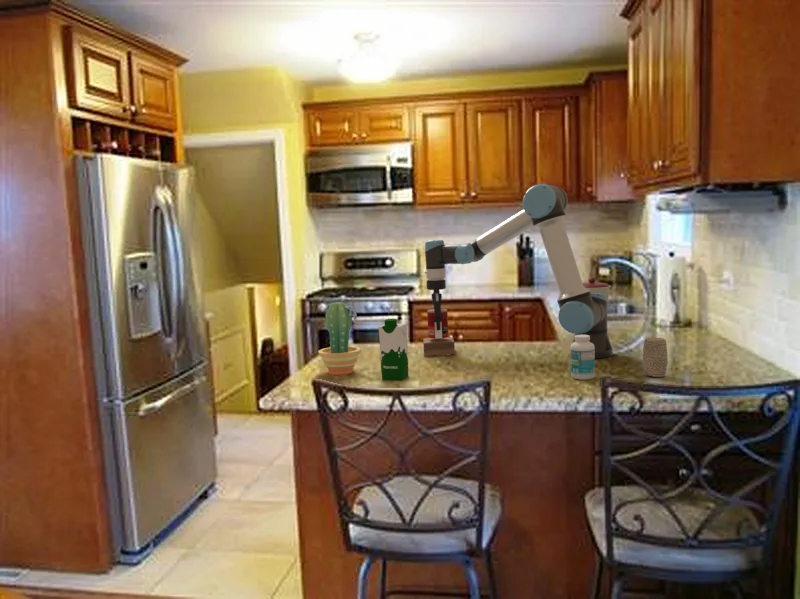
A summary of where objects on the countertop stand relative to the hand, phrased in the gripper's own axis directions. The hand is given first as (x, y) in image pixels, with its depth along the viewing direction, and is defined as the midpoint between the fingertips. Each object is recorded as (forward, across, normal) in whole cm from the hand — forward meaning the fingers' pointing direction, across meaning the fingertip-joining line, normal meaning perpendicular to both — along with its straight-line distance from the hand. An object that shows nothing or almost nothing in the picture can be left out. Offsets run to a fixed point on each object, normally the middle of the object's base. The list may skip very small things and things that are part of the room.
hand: (438, 336), depth 264 cm
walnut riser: (+7, 0, 0) cm, 7 cm away
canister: (+7, -78, +81) cm, 113 cm away
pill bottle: (+7, +53, +44) cm, 69 cm away
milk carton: (+7, +42, -16) cm, 46 cm away
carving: (+7, +55, +66) cm, 86 cm away
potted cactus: (+7, +29, -36) cm, 47 cm away
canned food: (0, 0, 0) cm, 0 cm away
